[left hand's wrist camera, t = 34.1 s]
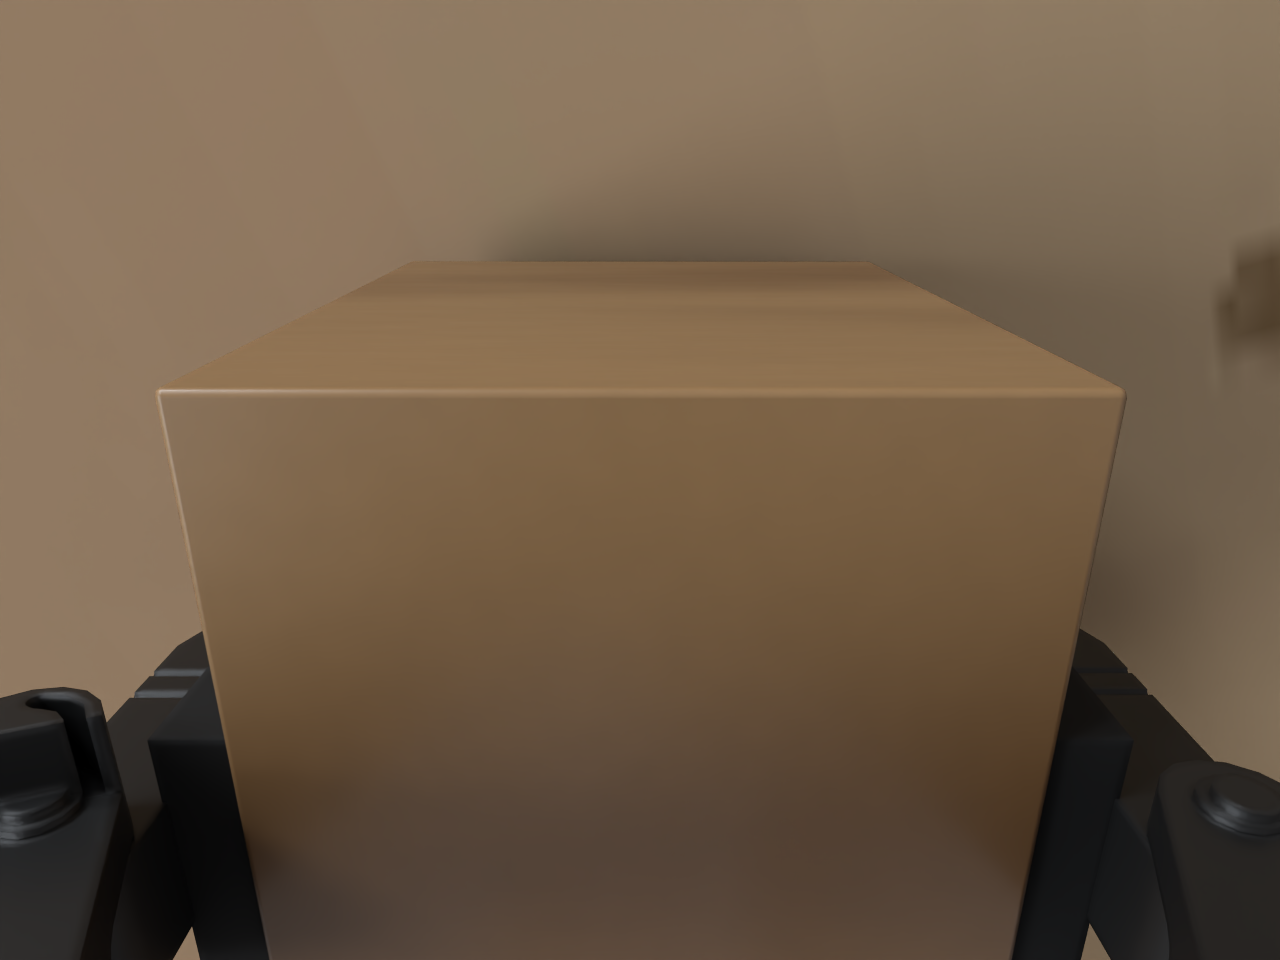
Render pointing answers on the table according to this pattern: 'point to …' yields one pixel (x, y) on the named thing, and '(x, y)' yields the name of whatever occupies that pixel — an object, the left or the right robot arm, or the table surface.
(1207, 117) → the table surface
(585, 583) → the block
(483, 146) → the table surface
